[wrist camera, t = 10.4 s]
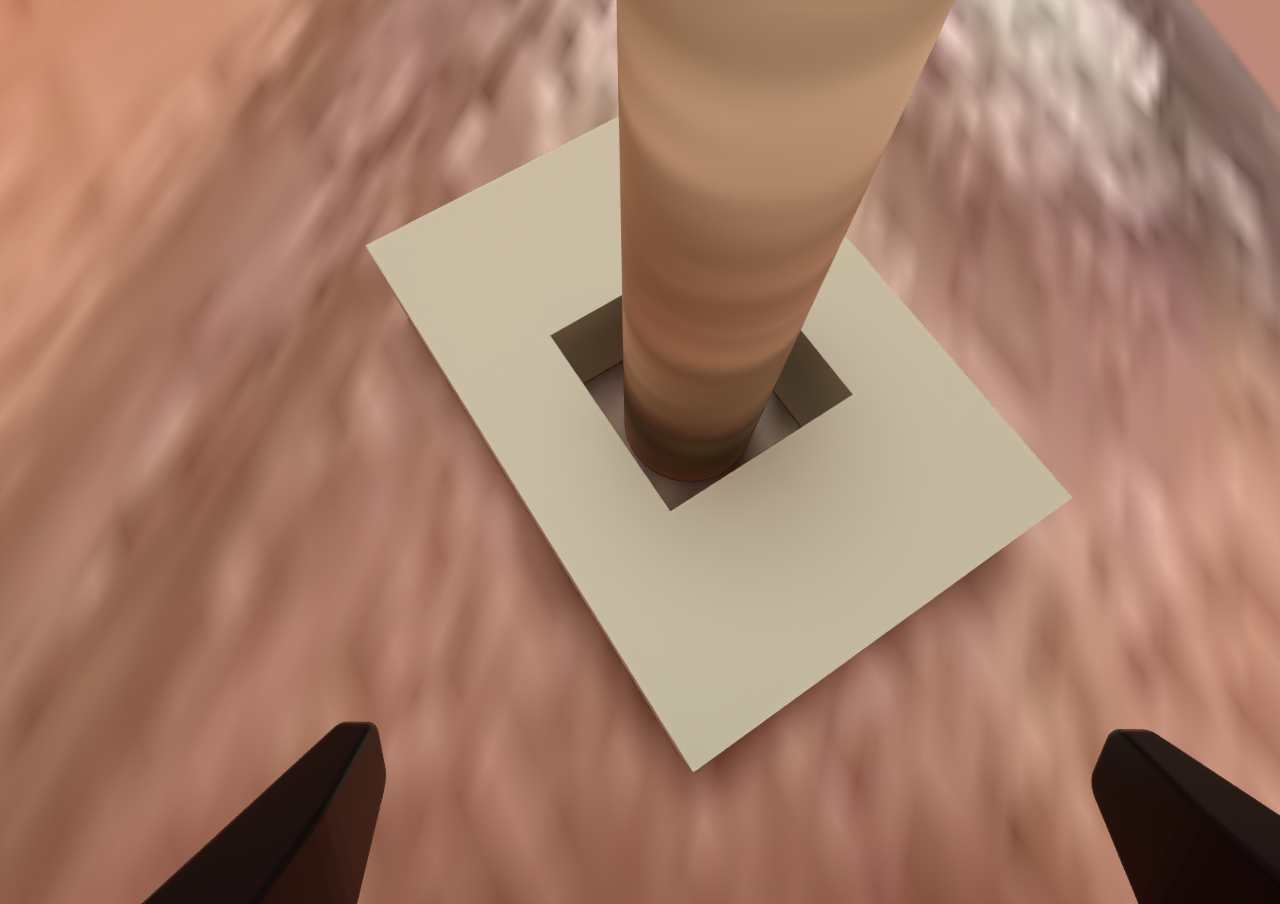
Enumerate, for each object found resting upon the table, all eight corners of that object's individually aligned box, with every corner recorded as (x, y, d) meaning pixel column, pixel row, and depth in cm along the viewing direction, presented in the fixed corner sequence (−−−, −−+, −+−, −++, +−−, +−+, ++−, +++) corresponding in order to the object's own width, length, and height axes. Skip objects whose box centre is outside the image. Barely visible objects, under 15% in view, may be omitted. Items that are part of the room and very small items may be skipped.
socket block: (995, 532, 19) (1072, 497, 16) (680, 757, 17) (693, 772, 14) (693, 163, 23) (704, 73, 19) (407, 317, 21) (365, 245, 18)
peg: (777, 437, 20) (1074, -86, 7) (670, 505, 19) (764, 74, 6) (703, 341, 21) (835, -290, 7) (600, 402, 20) (543, -171, 7)
